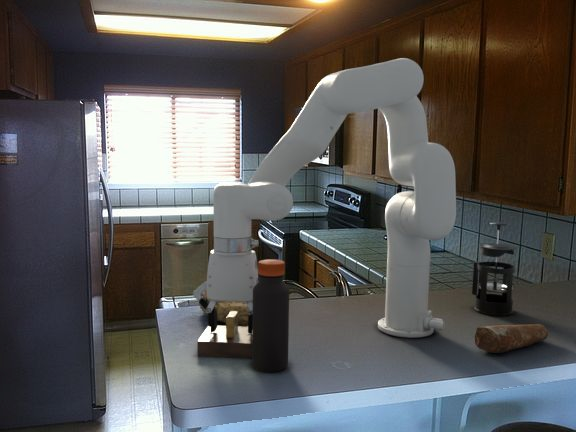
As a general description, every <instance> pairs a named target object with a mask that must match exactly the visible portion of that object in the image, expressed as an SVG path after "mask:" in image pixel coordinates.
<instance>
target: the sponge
mask: <svg viewBox="0 0 576 432" xmlns="http://www.w3.org/2000/svg"><path fill="white" fill-rule="evenodd" d="M202 294H203V296H204V297H206V298H207V293H206V290H204V291H203V292H202ZM207 299H208V298H207ZM208 300H209V301H211V300H210V299H208ZM198 306H199V308H200V310H201V311H202V312H203V313H205V314H206V316H208V313H207V312H206V309H205V308H204V307H203V306H202V305H201V304H200V303H199V302H198ZM215 309H216V310H217V322H221V323H224V324H226V318H227V316H228V315H229V313H230V311H238V326H248V315H249V313H250V310H249V308H248V306H247V304H246V302H226V301H218V302H217V304H216V305H215Z"/></svg>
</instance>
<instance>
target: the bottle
mask: <svg viewBox="0 0 576 432" xmlns="http://www.w3.org/2000/svg"><path fill="white" fill-rule="evenodd" d="M257 267H258V278H259V280H258V283H257V284H256V285H255V286H254V288H253V335H252V358H251V362H252V363H251V365H252V367H253V368H254V369H255V370H257V371H260V372H264V373H276V372H281V371H283V370H285V369H286V368H287V367H288V365H289V336H290V333H289V328H290V287H289V285H288V284H286V283H285V282H284V279H283V278H284V277H285V273H286V271H285V269H286V262H285V261H284V260H281V259H273V258H271V259H262V260H258V261H257Z"/></svg>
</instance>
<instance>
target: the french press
mask: <svg viewBox="0 0 576 432" xmlns="http://www.w3.org/2000/svg"><path fill="white" fill-rule="evenodd" d="M489 224H490V225H493V226H496V231H497V234H496V236H497V237H496V242H488V243H479V244H478V247H479V248H480V255H482V256H485V257H490V258H495V261H480V260H479V261H474V262H473V266H472V267H473V268H472V288H471V295H473V296H475V305H474V307H473V309H474V311H476V312H478V314H479V313H480V314H483V315H486V316H487V315H488V316H493V317H508V316H512V315H514V310H513V304H514V300H513V297H512V294H513V280H514V274H515V273H516V266H515V265H513V264H511V263H507V262H502V261H498V258H500V257H502V256H504V255H505V254H509V255H512V256H514V255H515V251H516V250H517V247H516V246H515V245H511V244H505V243H499V238H500V231H501V229H502V226H508V225H509V224H508V223H507V222H502V221H492V222H490V223H489ZM489 274H494V280H493V282H488V277H489V276H488V275H489ZM497 275H502V283H499V282H497ZM487 292H489V293H487Z"/></svg>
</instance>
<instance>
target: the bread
mask: <svg viewBox="0 0 576 432" xmlns="http://www.w3.org/2000/svg"><path fill="white" fill-rule="evenodd" d="M475 331H476V332H475V335H474V343H475V346H476V347H477V348H478V349H480V350H481V351H484V352H487V353H493V354H501V353H506V352H509V351H513V350H517V349H520V348H523V347H528V346H532V345H533V344H536V343H539V342H542V341H544V340H546V339H547V338H548V337H549V331H548V329H547V327H546V326H545V325H543V324H540V323H530V324H503V325H502V324H501V325H487V326H479V327H477V328H476V330H475Z"/></svg>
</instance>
